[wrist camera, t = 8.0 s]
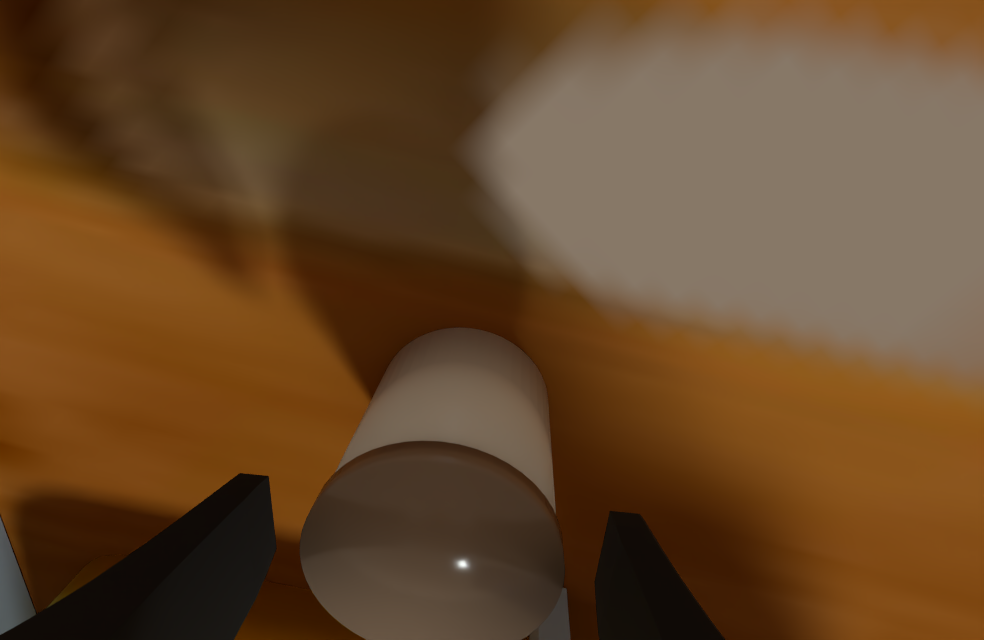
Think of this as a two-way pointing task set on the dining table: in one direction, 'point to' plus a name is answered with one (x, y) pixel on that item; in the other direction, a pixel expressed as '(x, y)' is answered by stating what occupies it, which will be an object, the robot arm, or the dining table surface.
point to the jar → (443, 500)
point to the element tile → (256, 609)
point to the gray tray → (8, 605)
